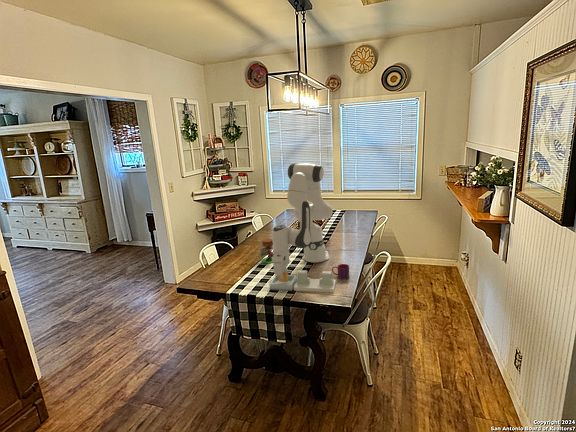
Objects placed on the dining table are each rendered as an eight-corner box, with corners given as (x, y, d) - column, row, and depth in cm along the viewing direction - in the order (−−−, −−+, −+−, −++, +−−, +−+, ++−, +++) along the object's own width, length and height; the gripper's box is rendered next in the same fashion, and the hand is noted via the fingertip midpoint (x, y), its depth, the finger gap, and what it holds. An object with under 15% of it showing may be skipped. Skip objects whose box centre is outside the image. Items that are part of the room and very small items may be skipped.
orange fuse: (280, 279, 188) (279, 268, 187) (288, 279, 187) (287, 268, 185) (278, 281, 185) (277, 270, 184) (287, 282, 184) (286, 270, 183)
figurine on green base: (280, 257, 231) (278, 237, 228) (274, 264, 219) (272, 243, 216) (264, 256, 234) (262, 237, 231) (258, 263, 223) (256, 242, 219)
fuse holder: (298, 281, 191) (298, 273, 189) (335, 282, 185) (335, 274, 184) (293, 290, 179) (293, 282, 178) (333, 292, 174) (333, 284, 173)
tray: (276, 279, 195) (275, 274, 194) (297, 280, 191) (296, 275, 191) (269, 289, 182) (269, 284, 182) (292, 290, 179) (291, 285, 178)
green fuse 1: (299, 281, 186) (298, 270, 184) (307, 281, 184) (307, 270, 183) (298, 283, 183) (297, 272, 181) (306, 284, 181) (306, 272, 180)
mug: (348, 279, 188) (348, 268, 187) (331, 278, 192) (331, 267, 190) (350, 274, 194) (349, 264, 193) (333, 273, 198) (333, 263, 196)
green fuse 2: (323, 282, 182) (322, 271, 180) (332, 283, 181) (331, 271, 179) (322, 285, 179) (322, 273, 178) (331, 285, 178) (331, 273, 176)
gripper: (281, 247, 193) (282, 269, 196) (270, 260, 174) (273, 284, 177) (291, 247, 191) (292, 269, 195) (282, 260, 172) (284, 284, 175)
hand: (283, 276), depth 186 cm, fingers closed on orange fuse, 3 cm apart
